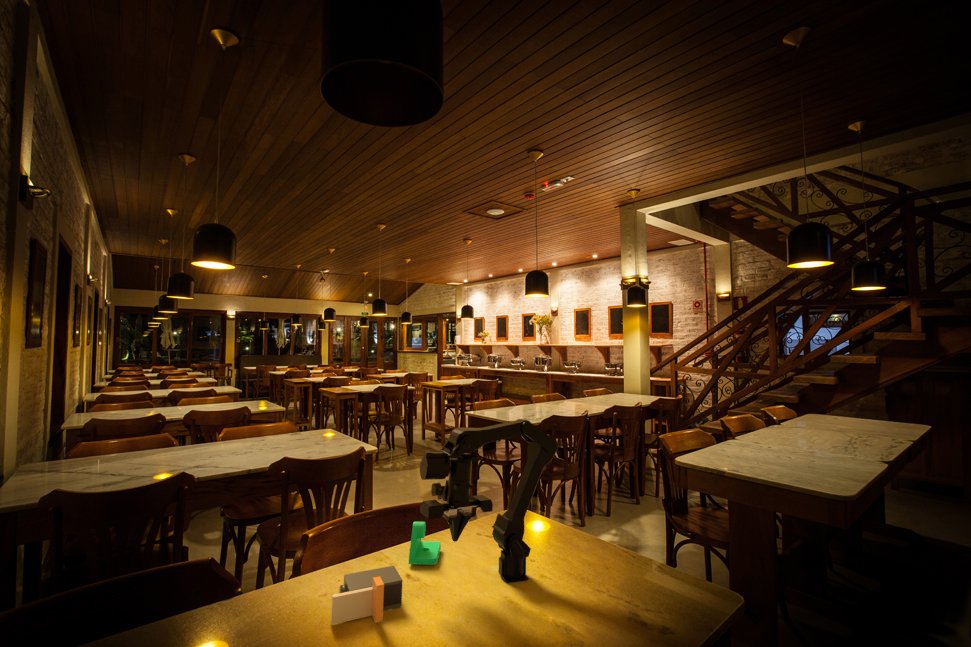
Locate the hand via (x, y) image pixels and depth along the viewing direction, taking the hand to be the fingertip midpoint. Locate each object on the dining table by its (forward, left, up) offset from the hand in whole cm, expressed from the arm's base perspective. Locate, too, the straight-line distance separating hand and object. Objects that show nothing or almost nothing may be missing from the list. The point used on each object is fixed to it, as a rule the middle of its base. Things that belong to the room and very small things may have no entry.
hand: (454, 541), depth 110 cm
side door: (+24, +10, -11) cm, 28 cm away
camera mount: (+4, -19, -12) cm, 23 cm away
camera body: (+20, +3, -12) cm, 23 cm away
